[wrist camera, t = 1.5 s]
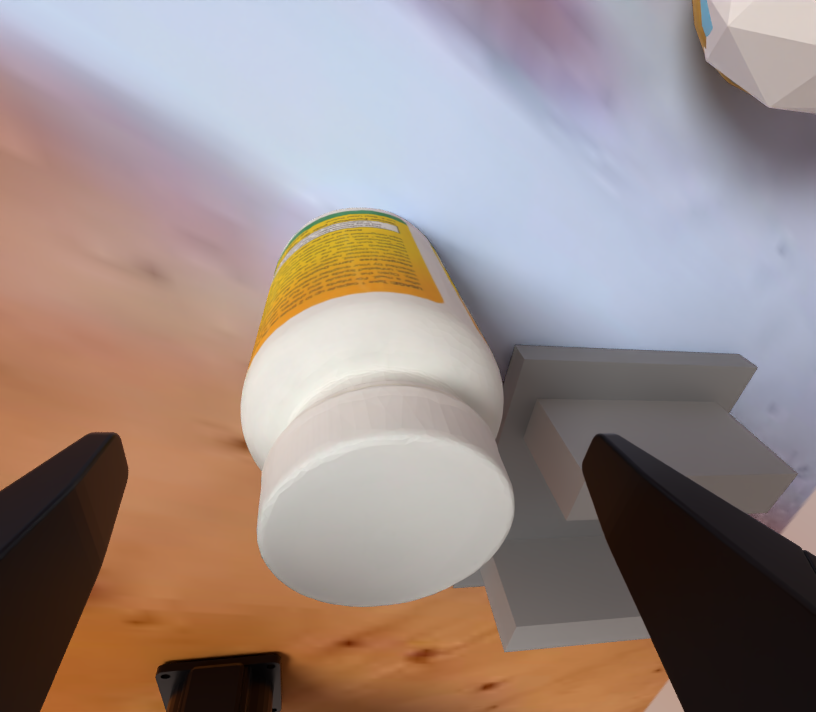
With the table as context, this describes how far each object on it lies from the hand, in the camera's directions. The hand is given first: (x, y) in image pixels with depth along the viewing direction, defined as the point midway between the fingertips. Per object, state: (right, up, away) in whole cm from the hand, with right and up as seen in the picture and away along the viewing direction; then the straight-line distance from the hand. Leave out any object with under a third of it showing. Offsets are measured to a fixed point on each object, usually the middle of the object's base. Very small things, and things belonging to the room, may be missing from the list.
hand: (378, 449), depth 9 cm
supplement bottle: (-1, +4, +6) cm, 8 cm away
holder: (+9, -4, +13) cm, 16 cm away
